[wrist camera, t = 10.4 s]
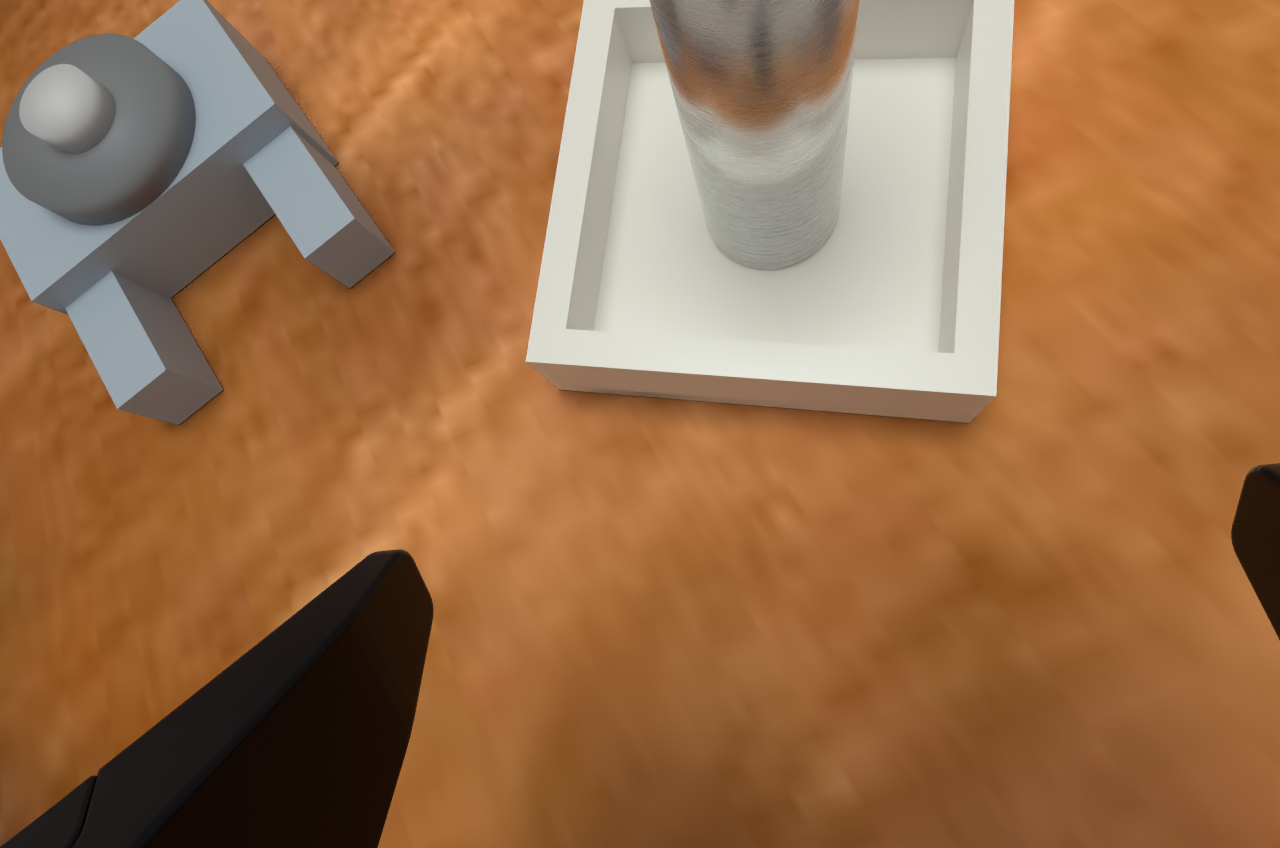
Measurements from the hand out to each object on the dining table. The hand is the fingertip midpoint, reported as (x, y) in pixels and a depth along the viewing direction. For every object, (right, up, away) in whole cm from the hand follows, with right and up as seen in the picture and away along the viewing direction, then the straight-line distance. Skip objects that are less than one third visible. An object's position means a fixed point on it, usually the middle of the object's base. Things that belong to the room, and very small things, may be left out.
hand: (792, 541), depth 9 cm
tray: (+2, +8, +15) cm, 17 cm away
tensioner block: (-17, +8, +19) cm, 27 cm away
